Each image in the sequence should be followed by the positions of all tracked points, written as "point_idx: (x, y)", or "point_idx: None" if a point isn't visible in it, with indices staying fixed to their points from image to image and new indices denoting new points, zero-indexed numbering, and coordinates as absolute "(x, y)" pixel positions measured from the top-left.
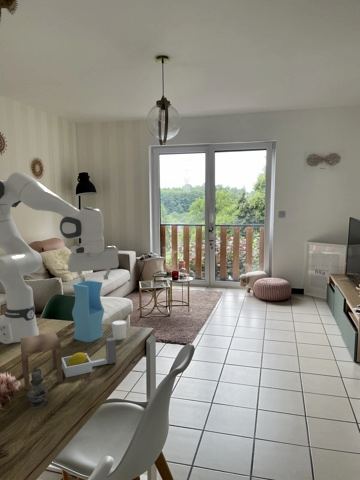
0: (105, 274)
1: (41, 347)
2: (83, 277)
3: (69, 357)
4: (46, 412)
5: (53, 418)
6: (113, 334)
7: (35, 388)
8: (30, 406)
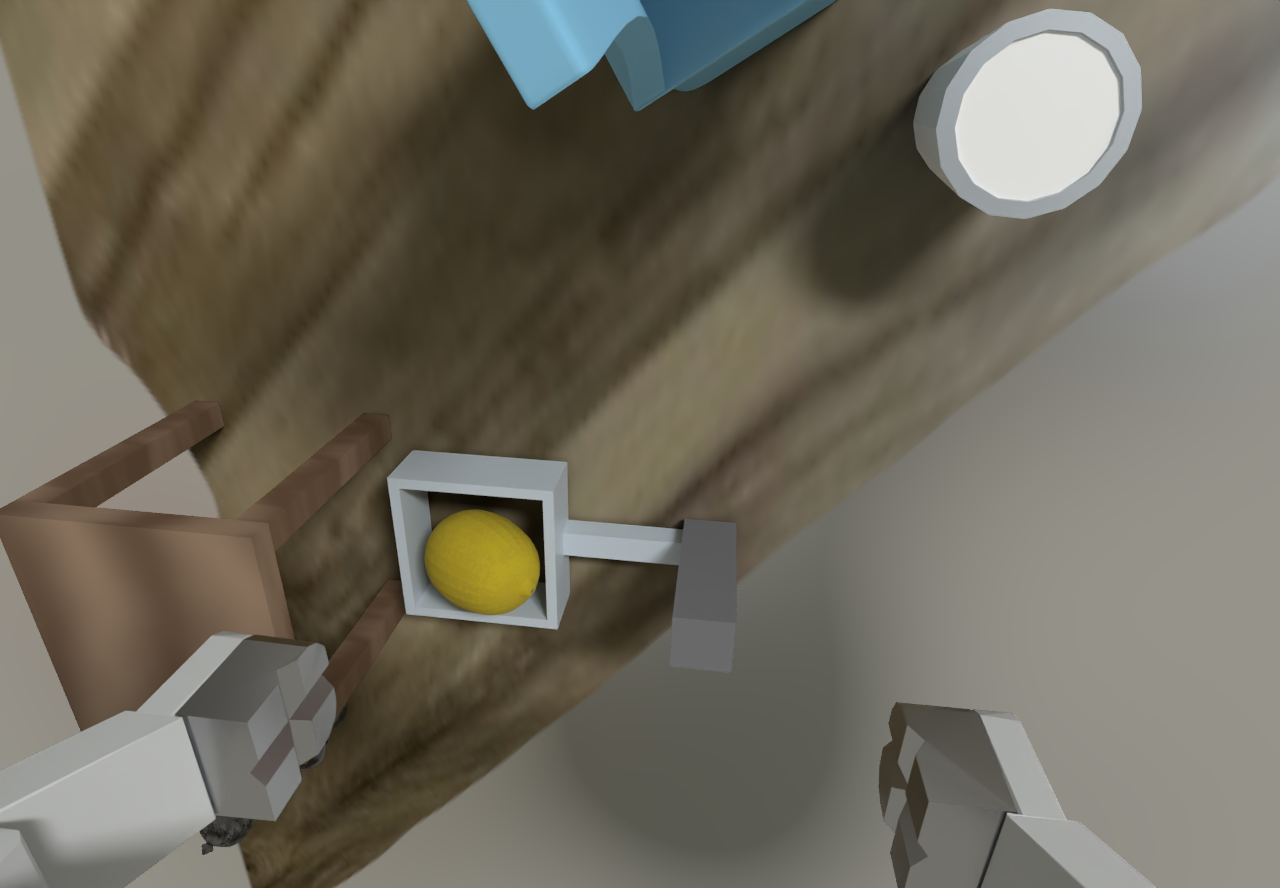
0: (1012, 823)
1: None
2: (231, 762)
3: (440, 488)
4: (346, 764)
5: (371, 803)
6: (919, 127)
7: None
8: None
